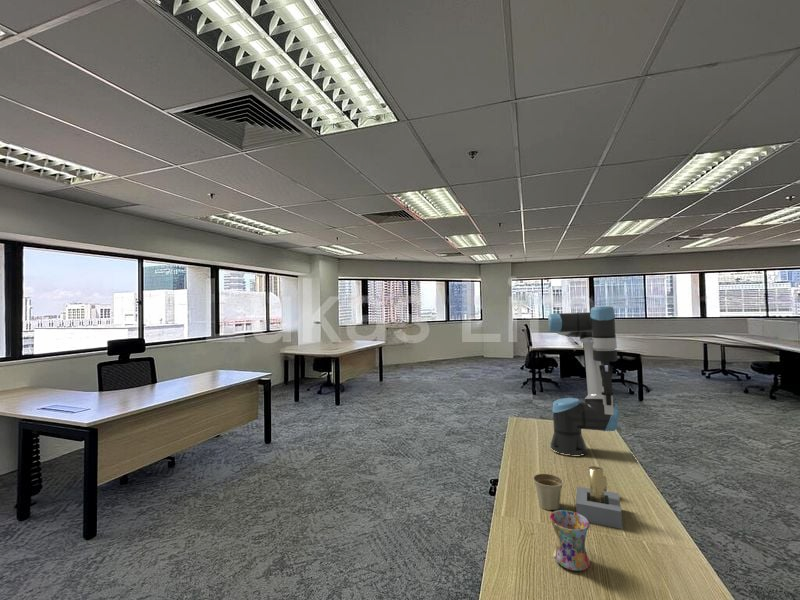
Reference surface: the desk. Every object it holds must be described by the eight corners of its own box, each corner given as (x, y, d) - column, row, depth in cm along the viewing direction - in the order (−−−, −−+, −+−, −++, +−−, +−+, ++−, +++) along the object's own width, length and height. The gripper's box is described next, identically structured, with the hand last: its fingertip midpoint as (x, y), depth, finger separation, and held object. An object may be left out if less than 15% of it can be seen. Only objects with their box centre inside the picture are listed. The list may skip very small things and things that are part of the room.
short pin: (594, 491, 128) (593, 474, 129) (607, 493, 127) (606, 476, 127) (594, 496, 125) (593, 478, 125) (607, 498, 123) (606, 480, 123)
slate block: (577, 501, 122) (577, 486, 122) (619, 509, 116) (618, 493, 117) (576, 519, 111) (575, 503, 112) (622, 529, 106) (621, 511, 106)
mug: (596, 577, 87) (593, 532, 88) (555, 572, 89) (552, 527, 90) (584, 546, 99) (581, 506, 99) (547, 542, 101) (545, 503, 101)
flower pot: (563, 500, 123) (562, 474, 123) (566, 515, 114) (564, 487, 114) (533, 497, 126) (532, 472, 126) (534, 511, 117) (533, 484, 117)
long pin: (591, 509, 117) (588, 465, 117) (605, 512, 115) (602, 467, 115) (591, 516, 113) (588, 470, 114) (606, 519, 111) (603, 472, 112)
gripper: (592, 346, 143) (595, 400, 142) (593, 353, 121) (597, 417, 120) (614, 346, 139) (618, 402, 138) (619, 353, 117) (623, 419, 116)
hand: (608, 409), depth 129 cm, fingers open, 13 cm apart
